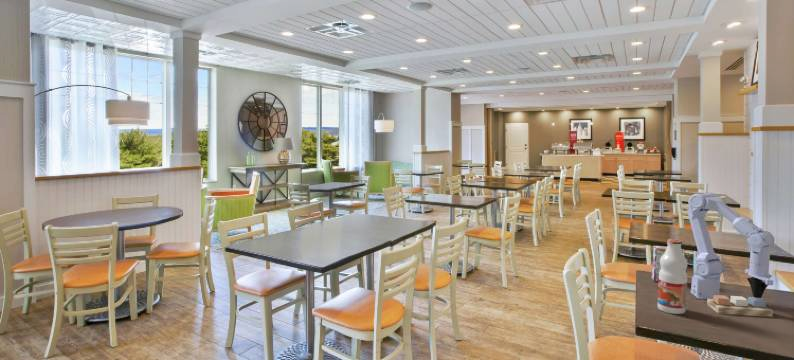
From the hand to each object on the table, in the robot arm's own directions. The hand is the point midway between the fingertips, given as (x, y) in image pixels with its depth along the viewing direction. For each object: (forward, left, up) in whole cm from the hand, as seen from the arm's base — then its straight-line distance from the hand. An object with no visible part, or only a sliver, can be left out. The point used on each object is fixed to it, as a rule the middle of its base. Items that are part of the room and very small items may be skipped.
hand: (757, 297), depth 168 cm
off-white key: (-6, 0, -3) cm, 7 cm away
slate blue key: (0, 0, -3) cm, 3 cm away
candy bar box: (-20, +33, -6) cm, 39 cm away
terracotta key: (-12, 0, -3) cm, 12 cm away
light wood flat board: (-6, 0, -6) cm, 8 cm away
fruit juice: (-31, -4, -6) cm, 32 cm away
